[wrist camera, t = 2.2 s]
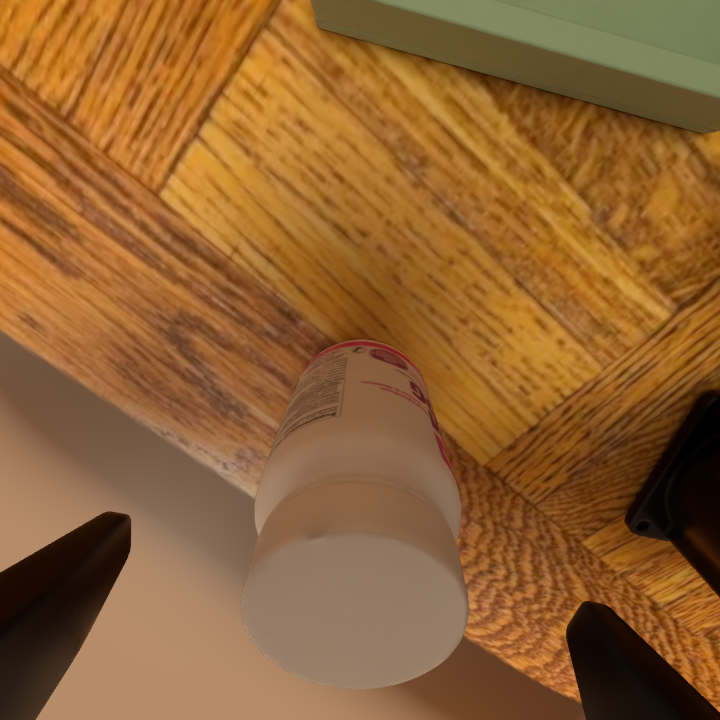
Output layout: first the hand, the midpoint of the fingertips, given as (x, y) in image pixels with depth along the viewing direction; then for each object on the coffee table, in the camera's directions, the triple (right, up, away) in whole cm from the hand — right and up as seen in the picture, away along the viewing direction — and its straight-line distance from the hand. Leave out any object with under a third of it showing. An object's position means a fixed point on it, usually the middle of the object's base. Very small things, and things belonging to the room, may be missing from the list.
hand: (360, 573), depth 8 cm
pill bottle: (0, +3, +7) cm, 8 cm away
